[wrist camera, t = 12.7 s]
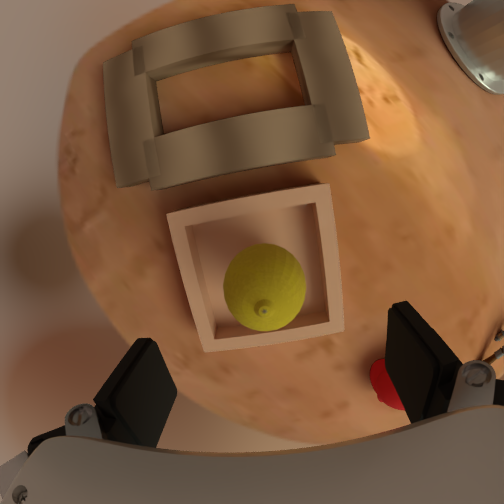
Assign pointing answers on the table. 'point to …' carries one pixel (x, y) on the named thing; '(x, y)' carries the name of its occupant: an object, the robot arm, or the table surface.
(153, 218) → the table surface
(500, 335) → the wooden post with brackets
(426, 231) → the table surface
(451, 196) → the table surface
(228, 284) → the lemon
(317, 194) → the tray
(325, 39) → the rectangular open frame
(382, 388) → the cap
